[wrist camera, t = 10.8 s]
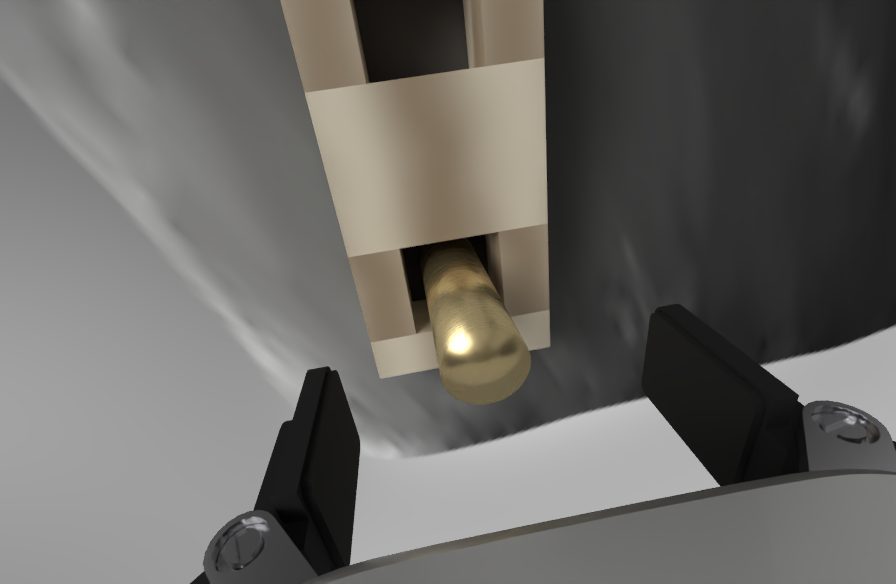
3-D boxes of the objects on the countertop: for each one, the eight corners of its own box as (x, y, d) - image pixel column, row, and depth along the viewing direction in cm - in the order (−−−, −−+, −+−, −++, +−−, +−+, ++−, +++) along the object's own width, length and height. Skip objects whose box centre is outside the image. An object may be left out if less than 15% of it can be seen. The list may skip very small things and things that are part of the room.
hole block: (508, -139, 15) (538, -199, 12) (529, 314, 24) (550, 346, 21) (269, -111, 15) (236, -167, 12) (381, 341, 24) (380, 378, 21)
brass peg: (470, 226, 21) (529, 320, 12) (476, 277, 23) (532, 395, 14) (415, 236, 21) (433, 338, 12) (424, 287, 22) (446, 411, 14)
